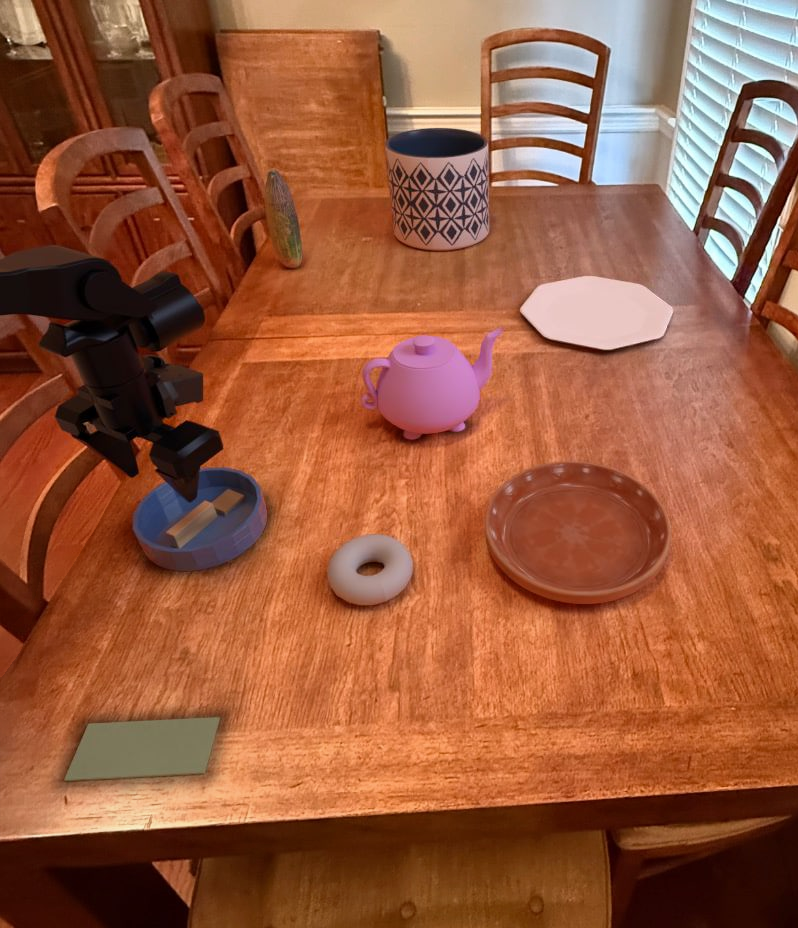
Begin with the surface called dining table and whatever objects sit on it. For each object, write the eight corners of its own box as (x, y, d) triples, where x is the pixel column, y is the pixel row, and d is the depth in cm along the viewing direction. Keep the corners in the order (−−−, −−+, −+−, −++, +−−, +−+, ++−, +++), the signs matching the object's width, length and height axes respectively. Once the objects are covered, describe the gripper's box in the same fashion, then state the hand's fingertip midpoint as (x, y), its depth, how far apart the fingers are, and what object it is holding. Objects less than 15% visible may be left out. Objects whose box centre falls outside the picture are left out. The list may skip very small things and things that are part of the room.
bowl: (253, 568, 84) (246, 548, 81) (123, 574, 83) (113, 554, 81) (277, 484, 95) (272, 465, 93) (164, 488, 94) (156, 469, 92)
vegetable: (271, 270, 147) (249, 172, 134) (285, 258, 152) (265, 163, 139) (297, 273, 146) (278, 175, 133) (311, 261, 151) (293, 165, 138)
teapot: (491, 379, 116) (490, 303, 107) (518, 433, 104) (520, 354, 96) (358, 400, 111) (346, 323, 102) (372, 459, 100) (359, 378, 91)
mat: (64, 781, 64) (63, 780, 64) (89, 725, 68) (88, 723, 68) (204, 774, 64) (203, 772, 64) (220, 718, 69) (219, 716, 69)
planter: (423, 210, 175) (416, 123, 161) (504, 224, 168) (504, 134, 155) (375, 242, 159) (364, 149, 146) (463, 259, 152) (459, 163, 139)
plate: (565, 366, 119) (566, 359, 118) (501, 298, 138) (501, 291, 137) (698, 334, 128) (699, 327, 127) (620, 275, 147) (621, 268, 146)
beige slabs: (229, 492, 93) (224, 478, 92) (245, 498, 92) (241, 485, 91) (167, 543, 86) (161, 530, 84) (183, 551, 85) (178, 537, 83)
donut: (378, 536, 88) (312, 579, 82) (375, 516, 86) (307, 559, 80) (431, 577, 83) (364, 626, 77) (429, 557, 81) (360, 606, 75)
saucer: (702, 582, 83) (708, 561, 80) (524, 637, 76) (524, 616, 74) (615, 465, 99) (618, 445, 97) (462, 503, 93) (461, 482, 90)
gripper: (241, 357, 72) (273, 471, 82) (116, 317, 78) (160, 427, 89) (155, 413, 64) (203, 531, 75) (24, 364, 71) (84, 478, 81)
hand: (163, 487), depth 80 cm, fingers open, 9 cm apart
